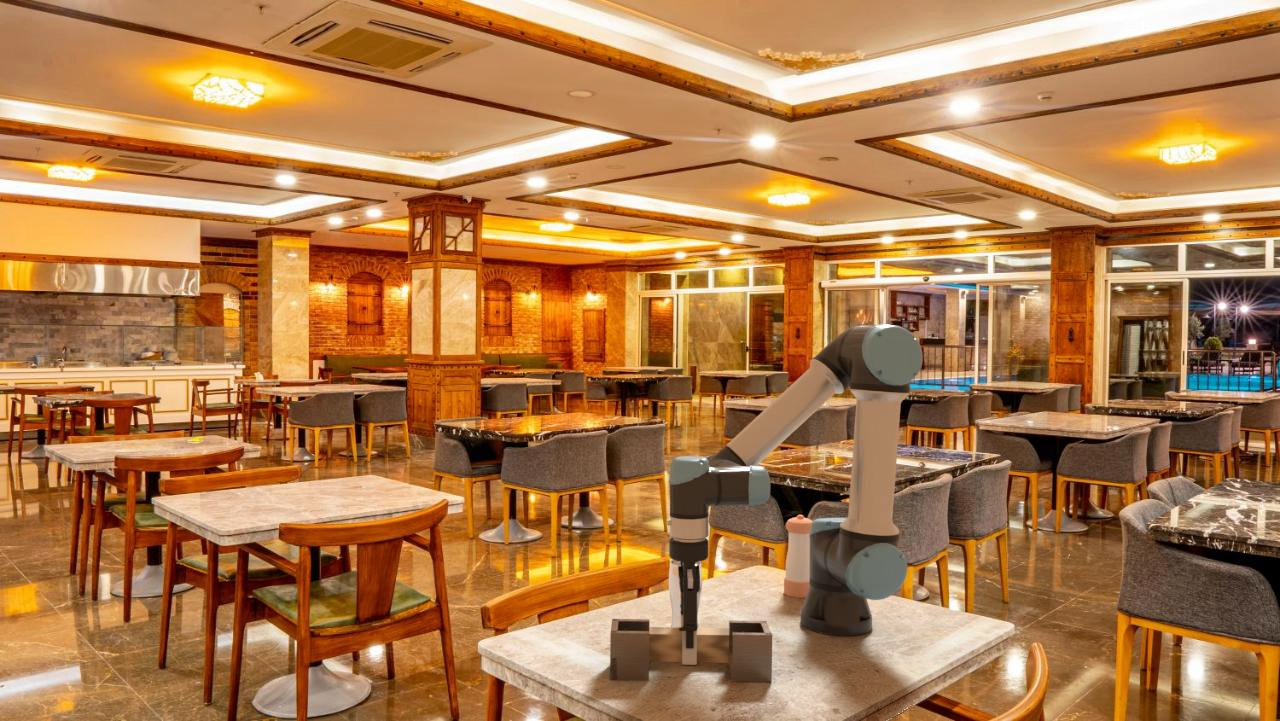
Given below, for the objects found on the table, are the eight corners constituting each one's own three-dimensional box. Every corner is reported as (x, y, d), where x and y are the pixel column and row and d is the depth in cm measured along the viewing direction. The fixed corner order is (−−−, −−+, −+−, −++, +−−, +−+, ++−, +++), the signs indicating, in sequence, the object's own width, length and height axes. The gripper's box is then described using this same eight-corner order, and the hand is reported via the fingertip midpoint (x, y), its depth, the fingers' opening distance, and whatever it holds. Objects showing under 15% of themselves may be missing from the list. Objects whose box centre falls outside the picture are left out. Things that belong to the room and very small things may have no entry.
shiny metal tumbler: (699, 640, 178) (700, 567, 178) (665, 637, 180) (666, 565, 179) (703, 629, 185) (704, 559, 185) (671, 626, 187) (671, 557, 186)
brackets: (765, 665, 165) (766, 620, 165) (771, 682, 157) (772, 635, 157) (611, 663, 165) (612, 618, 165) (610, 679, 157) (610, 633, 157)
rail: (743, 656, 170) (744, 628, 170) (746, 664, 166) (746, 635, 166) (630, 654, 171) (631, 626, 170) (630, 662, 167) (630, 633, 166)
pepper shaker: (783, 597, 209) (785, 517, 209) (783, 588, 216) (785, 511, 216) (814, 598, 208) (816, 518, 208) (813, 590, 215) (815, 512, 215)
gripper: (668, 526, 178) (667, 638, 178) (670, 550, 158) (670, 676, 159) (705, 526, 178) (704, 639, 178) (712, 550, 158) (711, 676, 159)
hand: (688, 656), depth 168 cm, fingers open, 7 cm apart
